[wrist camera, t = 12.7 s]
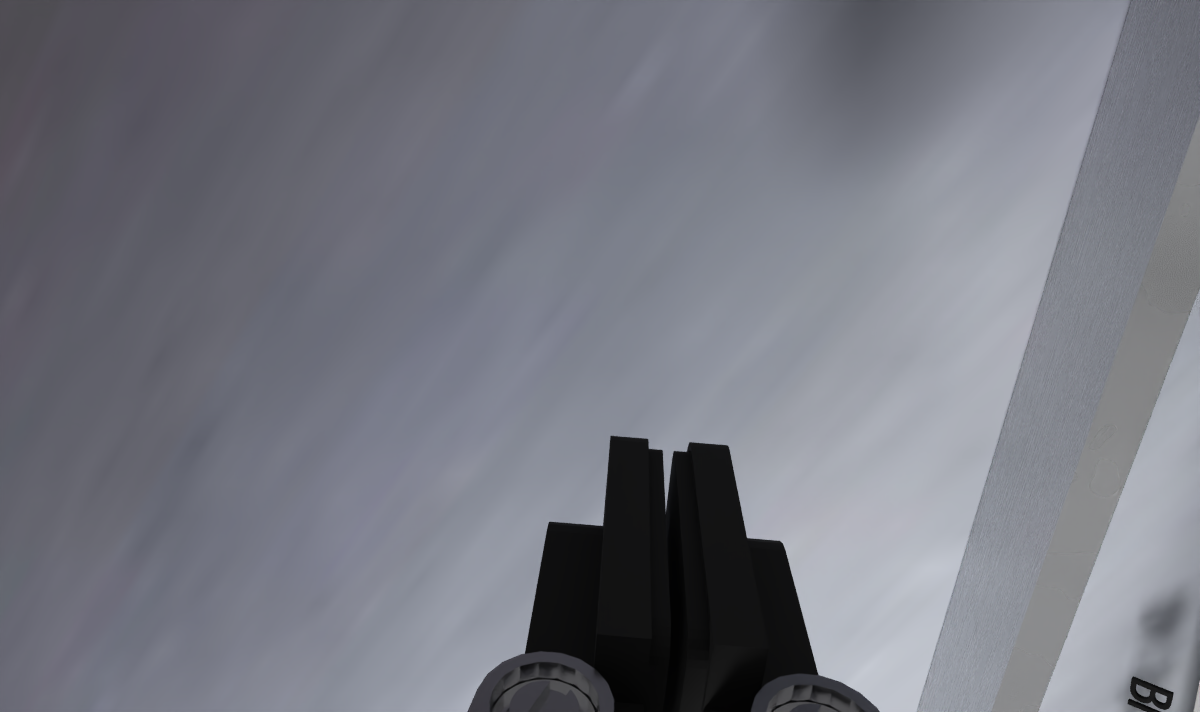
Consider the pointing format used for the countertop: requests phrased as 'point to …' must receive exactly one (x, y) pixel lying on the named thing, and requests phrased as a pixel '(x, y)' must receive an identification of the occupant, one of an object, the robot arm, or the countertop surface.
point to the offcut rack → (1084, 374)
